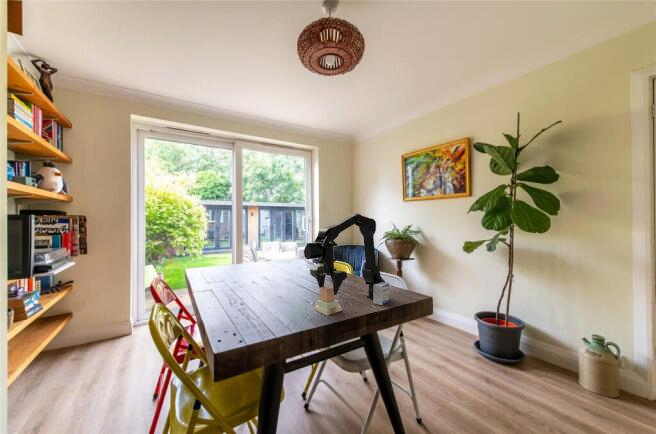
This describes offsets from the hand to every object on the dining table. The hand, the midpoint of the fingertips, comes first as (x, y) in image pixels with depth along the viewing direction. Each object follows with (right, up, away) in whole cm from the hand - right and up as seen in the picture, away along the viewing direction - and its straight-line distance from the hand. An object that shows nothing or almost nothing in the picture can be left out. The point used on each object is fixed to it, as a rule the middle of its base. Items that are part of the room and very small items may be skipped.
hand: (328, 292), depth 112 cm
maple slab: (0, -8, 0) cm, 8 cm away
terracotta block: (0, -3, 0) cm, 3 cm away
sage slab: (0, -6, 0) cm, 6 cm away
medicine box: (+25, -7, +8) cm, 27 cm away
